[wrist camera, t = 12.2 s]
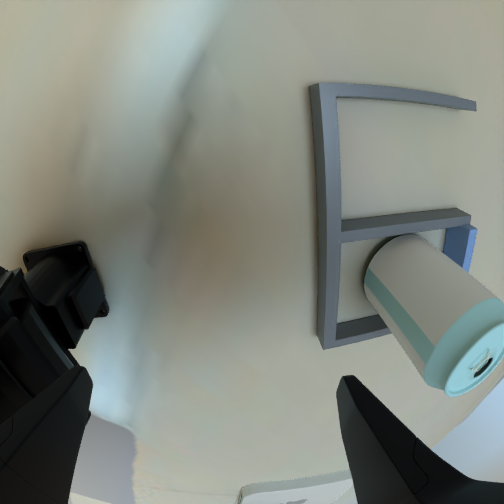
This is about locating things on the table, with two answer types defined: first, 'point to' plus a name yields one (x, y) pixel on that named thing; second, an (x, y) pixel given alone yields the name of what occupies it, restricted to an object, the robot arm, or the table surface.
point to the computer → (298, 490)
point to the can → (437, 313)
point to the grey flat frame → (342, 231)
